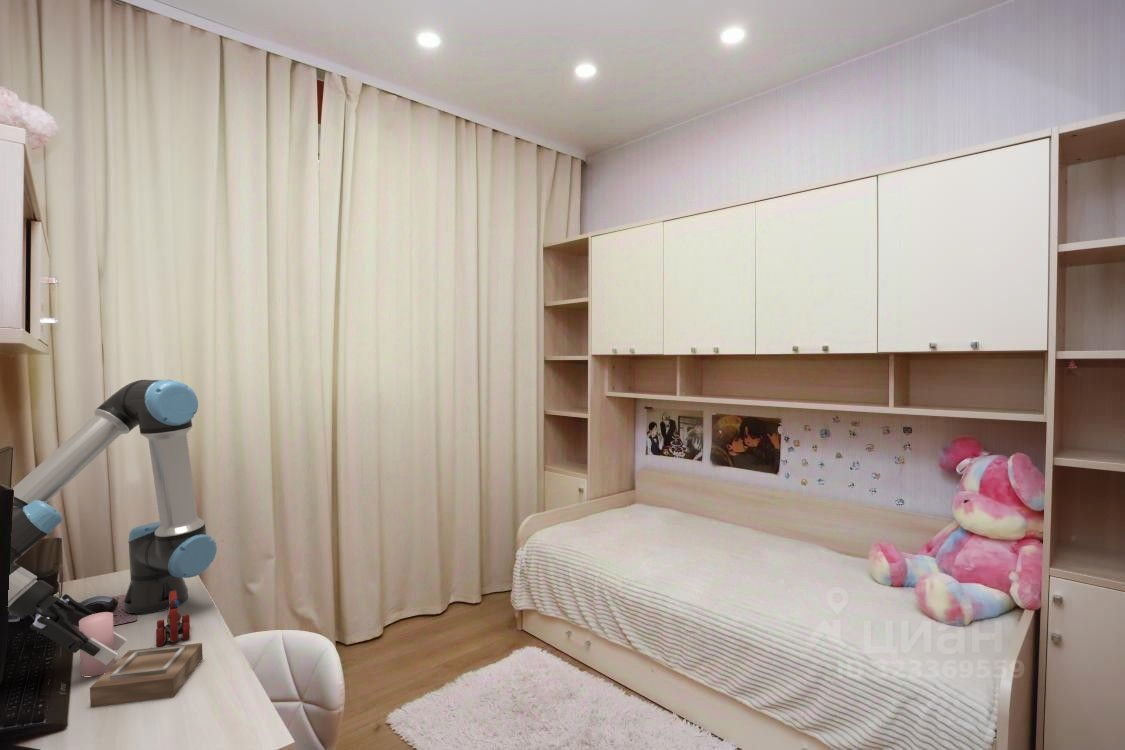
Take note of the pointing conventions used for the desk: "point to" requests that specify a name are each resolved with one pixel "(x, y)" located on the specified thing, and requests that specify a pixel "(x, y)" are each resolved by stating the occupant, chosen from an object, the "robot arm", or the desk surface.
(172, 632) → the toy fire truck
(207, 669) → the desk surface
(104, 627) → the rose cylinder
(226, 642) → the desk surface
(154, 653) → the walnut base
